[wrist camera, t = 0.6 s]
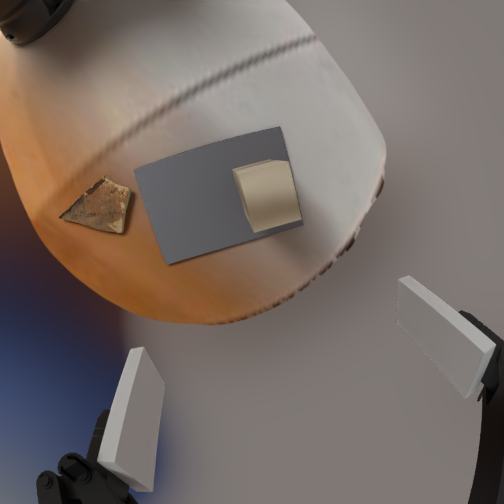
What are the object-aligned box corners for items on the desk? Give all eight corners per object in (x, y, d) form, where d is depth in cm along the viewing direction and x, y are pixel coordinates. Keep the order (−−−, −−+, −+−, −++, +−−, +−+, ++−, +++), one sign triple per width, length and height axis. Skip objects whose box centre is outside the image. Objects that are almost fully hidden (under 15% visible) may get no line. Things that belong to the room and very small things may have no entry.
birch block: (232, 169, 35) (238, 174, 26) (269, 159, 35) (288, 161, 26) (244, 212, 37) (254, 232, 28) (280, 202, 37) (301, 219, 28)
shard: (62, 215, 35) (57, 218, 33) (70, 165, 32) (64, 166, 31) (124, 232, 37) (120, 236, 35) (134, 180, 35) (131, 182, 33)
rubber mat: (134, 169, 34) (133, 169, 33) (279, 126, 34) (279, 126, 34) (167, 263, 39) (166, 264, 38) (302, 224, 39) (303, 224, 39)
